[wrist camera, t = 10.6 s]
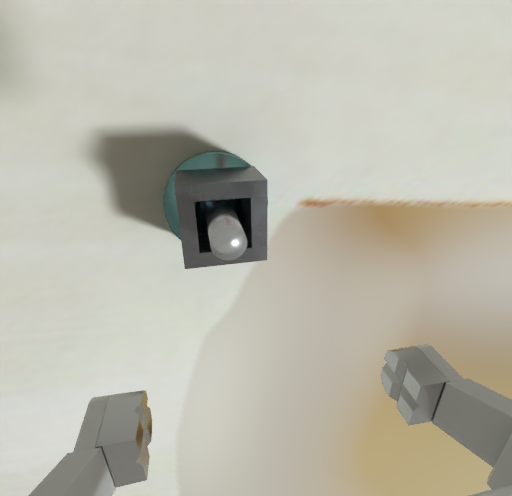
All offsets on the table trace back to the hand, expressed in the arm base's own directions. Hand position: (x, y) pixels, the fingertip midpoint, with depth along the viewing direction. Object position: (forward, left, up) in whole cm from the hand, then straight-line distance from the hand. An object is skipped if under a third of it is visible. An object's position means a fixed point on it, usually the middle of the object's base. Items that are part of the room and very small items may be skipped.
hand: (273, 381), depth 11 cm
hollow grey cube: (0, 0, -19) cm, 19 cm away
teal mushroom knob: (0, 0, -20) cm, 20 cm away
